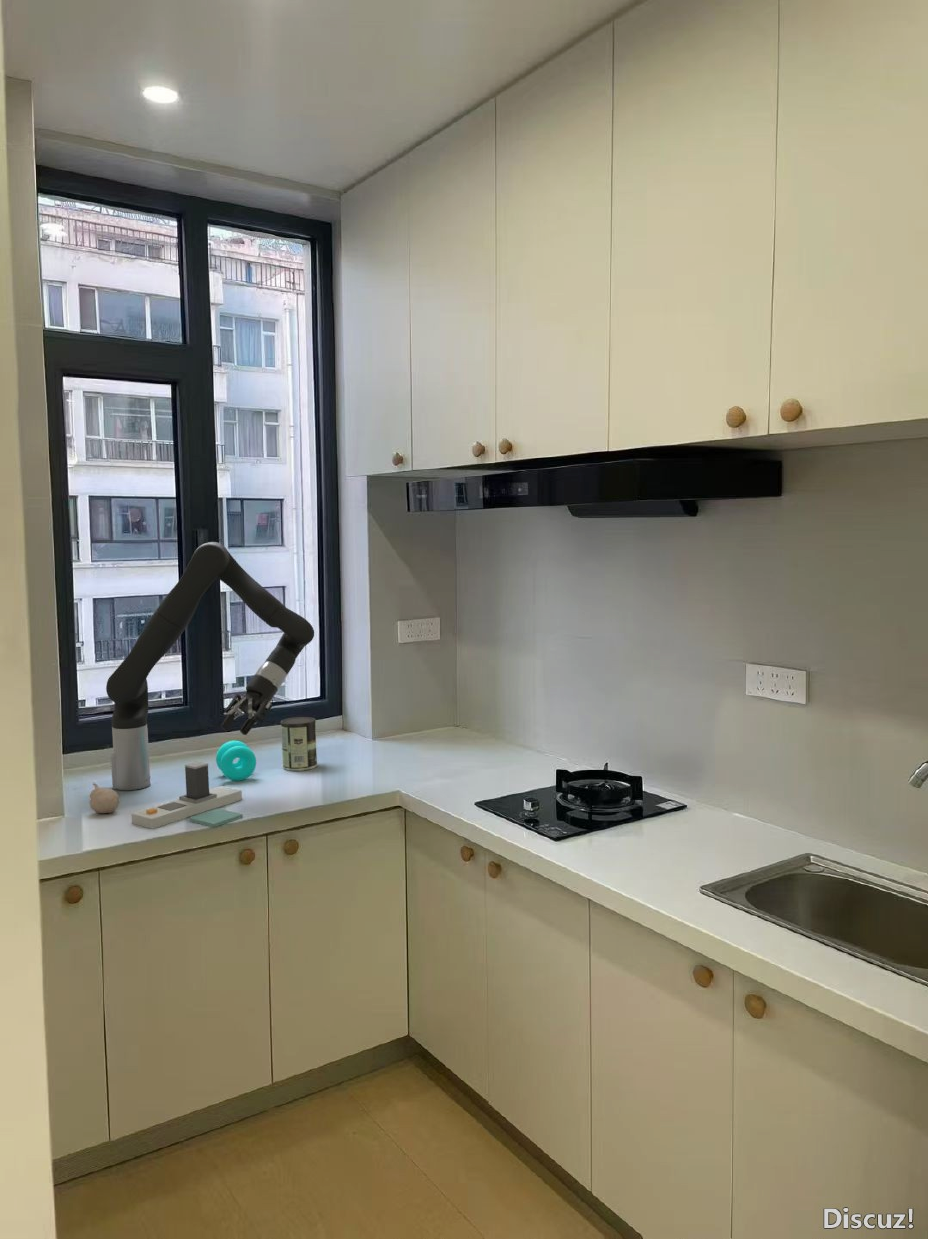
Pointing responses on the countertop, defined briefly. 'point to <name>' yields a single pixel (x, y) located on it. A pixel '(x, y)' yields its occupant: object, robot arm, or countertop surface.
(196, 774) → the block
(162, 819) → the strip
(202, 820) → the pad
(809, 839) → the countertop surface
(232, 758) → the donuts
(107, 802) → the garlic bulb
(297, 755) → the coffee can
